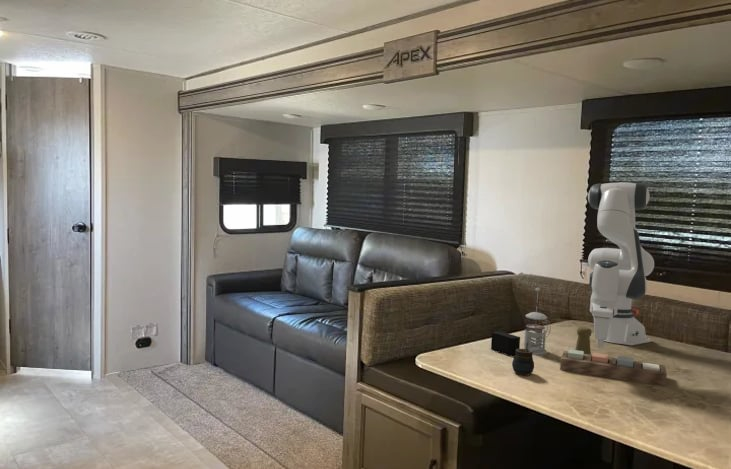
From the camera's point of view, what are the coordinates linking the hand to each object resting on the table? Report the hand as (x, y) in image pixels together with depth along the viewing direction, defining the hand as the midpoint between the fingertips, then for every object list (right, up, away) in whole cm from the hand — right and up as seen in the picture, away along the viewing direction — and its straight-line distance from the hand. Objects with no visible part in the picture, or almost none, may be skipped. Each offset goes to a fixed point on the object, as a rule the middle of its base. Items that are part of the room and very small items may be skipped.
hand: (600, 347), depth 201 cm
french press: (-15, -6, +24) cm, 29 cm away
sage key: (-7, -5, +4) cm, 10 cm away
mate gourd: (-28, -8, -4) cm, 30 cm away
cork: (+1, -7, +20) cm, 21 cm away
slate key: (+7, -6, -3) cm, 10 cm away
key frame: (+3, -9, -1) cm, 10 cm away
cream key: (+15, -8, -6) cm, 17 cm away
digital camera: (-28, -6, +21) cm, 36 cm away
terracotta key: (0, -6, +1) cm, 6 cm away
